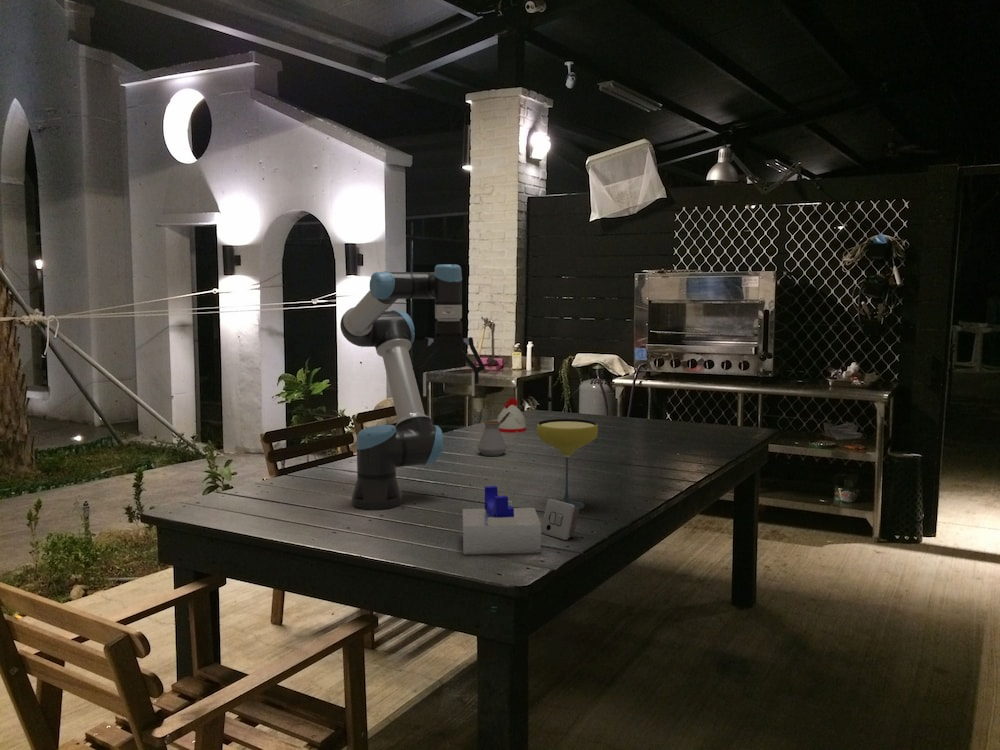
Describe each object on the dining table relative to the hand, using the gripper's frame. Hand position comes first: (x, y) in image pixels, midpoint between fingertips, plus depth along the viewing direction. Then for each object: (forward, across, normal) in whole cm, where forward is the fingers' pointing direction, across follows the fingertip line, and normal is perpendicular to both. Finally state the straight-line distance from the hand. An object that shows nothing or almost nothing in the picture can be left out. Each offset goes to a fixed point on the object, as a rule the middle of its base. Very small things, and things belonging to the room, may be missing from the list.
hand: (448, 395), depth 229 cm
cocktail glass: (+35, +35, +9) cm, 50 cm away
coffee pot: (+35, +19, +92) cm, 100 cm away
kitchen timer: (+35, +28, +144) cm, 151 cm away
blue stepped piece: (+27, +13, -27) cm, 40 cm away
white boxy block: (+35, +13, -26) cm, 46 cm away
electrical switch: (+35, +29, -20) cm, 50 cm away
